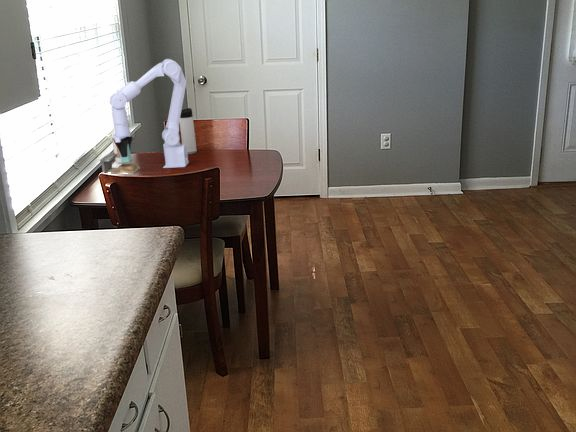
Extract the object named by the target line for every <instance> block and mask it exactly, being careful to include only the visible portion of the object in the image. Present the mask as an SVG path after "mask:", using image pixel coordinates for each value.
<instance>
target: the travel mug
mask: <svg viewBox="0 0 576 432" xmlns="http://www.w3.org/2000/svg"><path fill="white" fill-rule="evenodd" d="M179 132H180V139H181V145H186V147H187V154H188V155H193V154H196V153H197V151H198V150H197V142H196V140H197V139H196V132H195V124H194V116H193V109H192V107H191V108H189V107H187V108H184V109H183V108H182V110H181V115H180V121H179Z"/></svg>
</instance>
